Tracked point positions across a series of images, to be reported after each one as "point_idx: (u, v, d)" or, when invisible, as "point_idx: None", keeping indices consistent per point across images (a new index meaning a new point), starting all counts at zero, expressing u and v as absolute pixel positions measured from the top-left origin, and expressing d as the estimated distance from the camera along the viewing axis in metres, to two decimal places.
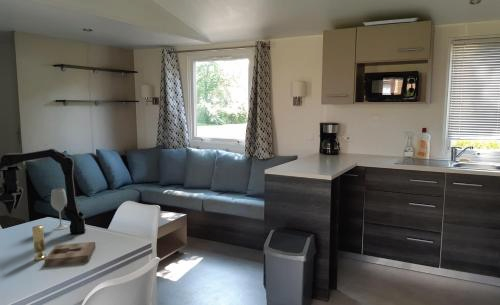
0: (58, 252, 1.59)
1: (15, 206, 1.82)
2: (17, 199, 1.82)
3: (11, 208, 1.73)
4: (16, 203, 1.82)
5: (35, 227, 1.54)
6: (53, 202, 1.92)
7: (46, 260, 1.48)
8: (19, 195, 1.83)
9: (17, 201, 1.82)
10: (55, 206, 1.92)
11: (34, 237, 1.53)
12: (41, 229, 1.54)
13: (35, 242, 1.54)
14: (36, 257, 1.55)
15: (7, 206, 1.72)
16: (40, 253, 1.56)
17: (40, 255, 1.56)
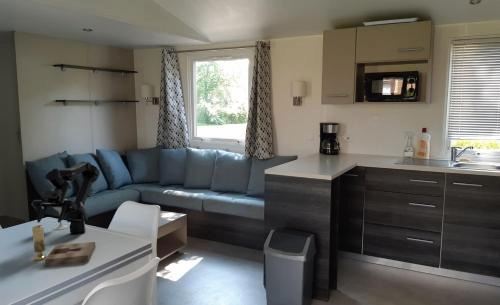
0: (58, 252, 1.59)
1: (39, 220, 1.64)
2: (42, 214, 1.67)
3: (63, 217, 1.65)
4: (41, 217, 1.65)
5: (35, 227, 1.54)
6: None
7: (46, 260, 1.48)
8: (44, 211, 1.69)
9: (42, 216, 1.66)
10: None
11: (34, 237, 1.53)
12: (41, 229, 1.54)
13: (35, 242, 1.54)
14: (36, 257, 1.55)
15: (63, 213, 1.65)
16: (40, 253, 1.56)
17: (40, 255, 1.56)
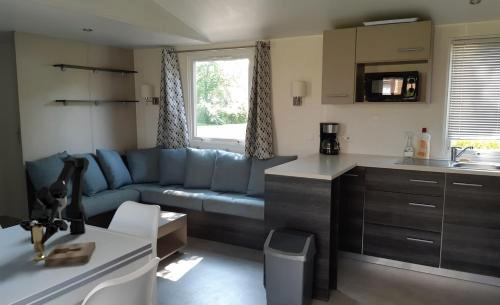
0: (58, 252, 1.59)
1: None
2: None
3: (47, 238, 1.56)
4: None
5: (35, 227, 1.54)
6: None
7: (46, 260, 1.48)
8: None
9: None
10: None
11: (34, 237, 1.53)
12: (41, 229, 1.54)
13: (35, 242, 1.54)
14: (36, 257, 1.55)
15: (47, 234, 1.56)
16: (40, 253, 1.56)
17: (40, 255, 1.56)
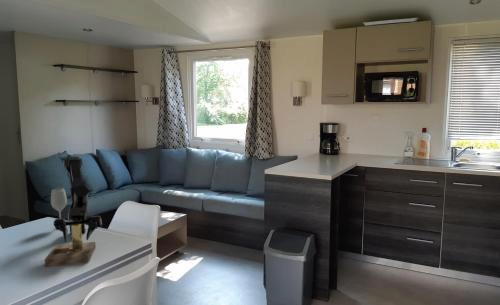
0: (58, 252, 1.59)
1: (66, 239, 1.56)
2: (66, 233, 1.59)
3: (90, 234, 1.60)
4: (66, 236, 1.57)
5: (74, 225, 1.56)
6: (53, 202, 1.92)
7: (46, 260, 1.48)
8: (67, 230, 1.61)
9: None
10: (55, 206, 1.92)
11: (74, 235, 1.55)
12: (80, 227, 1.57)
13: (75, 240, 1.56)
14: None
15: (90, 230, 1.59)
16: None
17: None
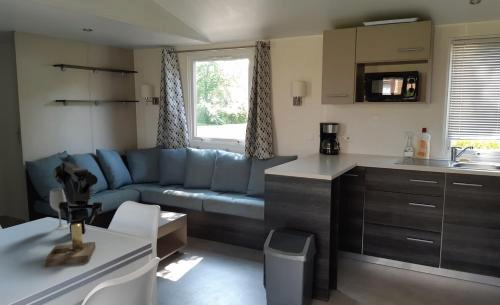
0: (58, 252, 1.59)
1: (68, 221, 1.68)
2: (69, 216, 1.71)
3: (92, 219, 1.72)
4: (69, 219, 1.69)
5: (74, 225, 1.56)
6: (52, 203, 1.92)
7: (46, 260, 1.48)
8: (69, 212, 1.72)
9: (69, 217, 1.70)
10: (54, 207, 1.92)
11: (74, 235, 1.55)
12: (80, 227, 1.57)
13: (75, 240, 1.56)
14: None
15: (93, 215, 1.71)
16: (79, 250, 1.58)
17: None
